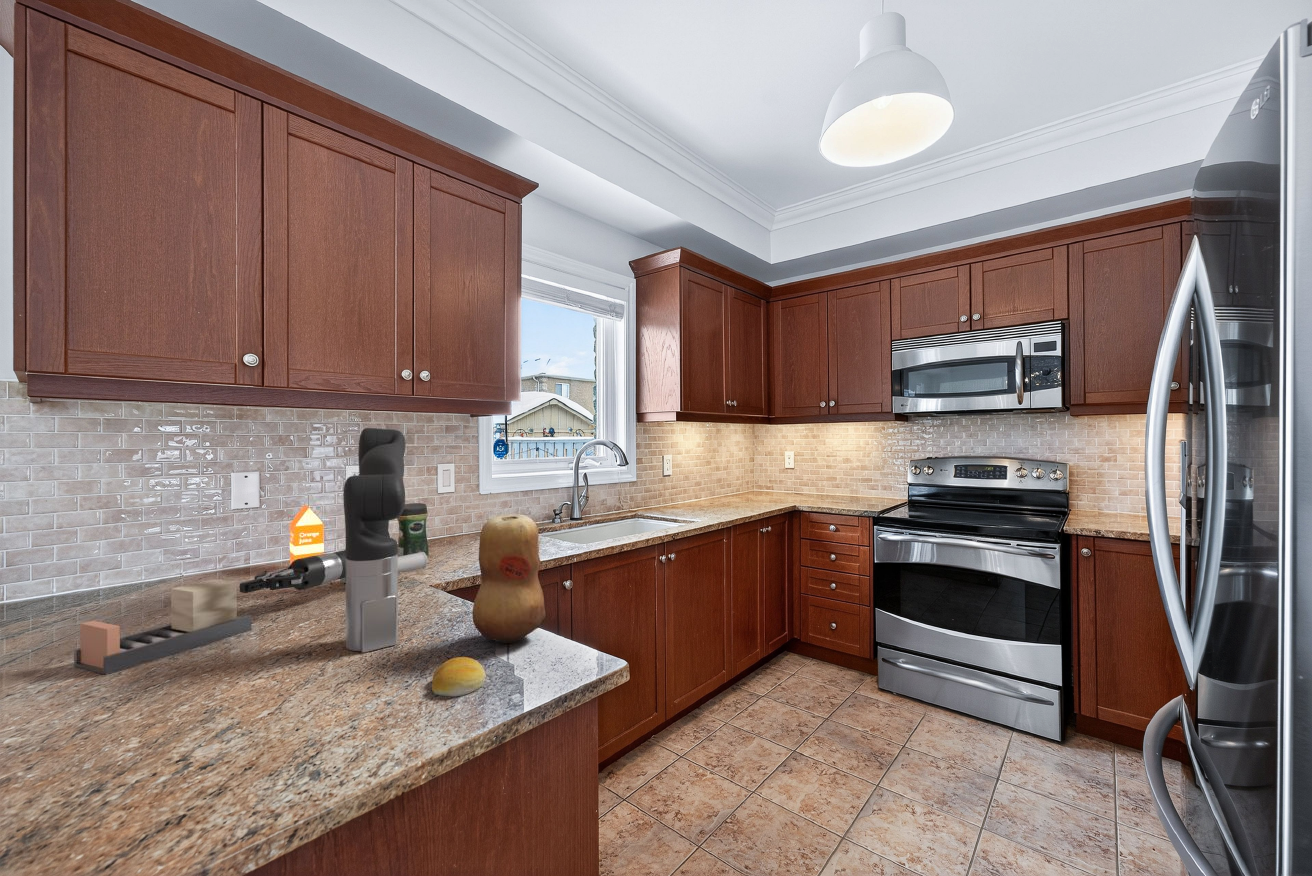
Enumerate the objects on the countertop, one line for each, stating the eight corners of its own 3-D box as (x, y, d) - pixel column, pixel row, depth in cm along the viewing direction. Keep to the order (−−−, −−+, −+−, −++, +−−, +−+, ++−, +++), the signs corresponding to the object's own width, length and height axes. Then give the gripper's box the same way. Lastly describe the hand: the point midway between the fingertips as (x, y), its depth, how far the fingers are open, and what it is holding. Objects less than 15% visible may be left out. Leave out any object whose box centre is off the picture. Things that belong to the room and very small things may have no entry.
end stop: (93, 659, 101) (92, 620, 101) (119, 665, 98) (119, 626, 98) (80, 662, 99) (80, 623, 99) (107, 669, 96) (107, 629, 96)
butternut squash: (476, 658, 101) (475, 522, 101) (469, 635, 114) (469, 513, 114) (551, 647, 107) (550, 517, 107) (537, 625, 119) (536, 509, 119)
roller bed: (221, 624, 121) (221, 610, 121) (251, 629, 118) (251, 615, 118) (74, 666, 99) (74, 649, 99) (106, 675, 95) (105, 657, 95)
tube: (346, 573, 152) (429, 555, 172) (337, 564, 155) (419, 548, 175) (343, 590, 153) (426, 571, 173) (334, 581, 156) (416, 563, 176)
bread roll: (431, 703, 85) (431, 677, 85) (433, 679, 93) (432, 655, 93) (487, 693, 88) (487, 668, 88) (484, 671, 96) (484, 648, 96)
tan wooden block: (215, 616, 119) (215, 579, 119) (236, 620, 116) (236, 582, 116) (171, 628, 111) (171, 588, 111) (193, 632, 109) (193, 591, 109)
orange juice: (294, 575, 165) (293, 508, 165) (289, 570, 172) (289, 505, 172) (324, 571, 170) (324, 505, 170) (318, 566, 177) (318, 503, 177)
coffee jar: (422, 554, 194) (422, 501, 194) (431, 557, 188) (431, 503, 188) (393, 558, 188) (393, 503, 188) (401, 562, 182) (401, 505, 182)
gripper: (297, 553, 139) (222, 568, 123) (335, 557, 134) (262, 573, 118) (297, 583, 139) (222, 602, 123) (335, 588, 134) (262, 608, 118)
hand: (241, 588), depth 121 cm, fingers closed
